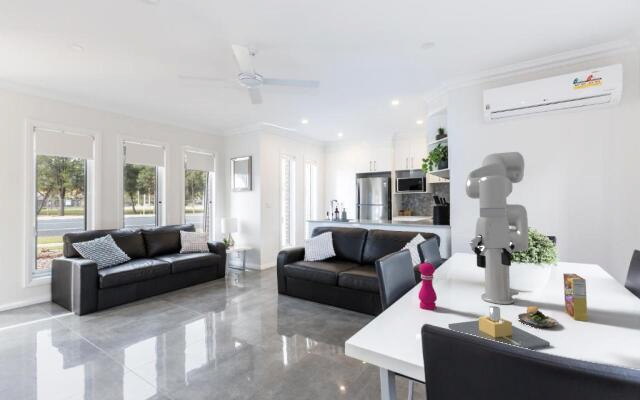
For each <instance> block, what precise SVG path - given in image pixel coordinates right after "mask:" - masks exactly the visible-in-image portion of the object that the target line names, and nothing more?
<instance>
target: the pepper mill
mask: <svg viewBox="0 0 640 400" xmlns="http://www.w3.org/2000/svg"><path fill="white" fill-rule="evenodd" d="M435 271H436V269H435V266H434V265H433V263H430V260H429V259H428V258H426V259H425V260H424V263H422V264H420V265H419V272H420V273H421V274H420V279H421V280H422V282H421V283H422V284H421V286H420V289H419V291H418V296H417V297H418V299H419V308H421V309H422V310H425V311H426V310H427V311H433V310H435V309H436V306H437V305H436V303H435V302H436V301H437V293H436V291H435V288H434V287H433V280H434V273H435Z"/></svg>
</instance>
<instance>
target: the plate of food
mask: <svg viewBox="0 0 640 400" xmlns="http://www.w3.org/2000/svg"><path fill="white" fill-rule="evenodd" d="M527 303H528V305H529V306H528V307H527V308H526V312H524V313H520V314H518V315H517V317H518V319H520V320H518V319H517V321H518V322H519V323H520V322H521V323H520V324H522V323H523V324H522V325H524V324H526V325H529V326H531V327H530V328H533V327H534V328H533V329H537V328H539V329H538V330H542V328H543V327H546V328H550V327H551V328H552V327H554V326H556V325H558V324H559V321H557V320H556V319H554V318H553V317H550V316H548V315H545V314H544V313H543V312H542V311H540V310H539V306H536V305H530V303H529V301H528V302H527ZM526 325H525V326H526ZM529 326H528V327H529Z"/></svg>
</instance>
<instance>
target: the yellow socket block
mask: <svg viewBox="0 0 640 400" xmlns="http://www.w3.org/2000/svg"><path fill="white" fill-rule="evenodd" d="M478 320H479V330H481V331H483V332H485V333H487V334H489V335H491V336H493V337H503V336H510V335H512V326H513V322H512V321H509V320H507V319H505V318H502V317H500V320H499V322H496V323H494V322H492V321H490V315H487V316H479V317H478Z"/></svg>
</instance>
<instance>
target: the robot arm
mask: <svg viewBox="0 0 640 400" xmlns="http://www.w3.org/2000/svg"><path fill="white" fill-rule="evenodd" d="M524 173H525V159H524V157H523V155H522V153H520V152H518V151H509V152H508V151H506V152H497V153H496V152H494V153H490V154H488V155H486V156H485V157H484V158H483V160H482V164H481V167H478V168H476V169H474V170H472V171H471V172H469V173H468V175H467V177H466V180H465V181H466V182H465V187H464V189H465V194H466V196H467V197H468V198H470V199H476V200H477V199H478V201H479V217H478V218H477V221H476V225H475V235H474V238H472V240H469V245H470V248H471V250H472V251H473V252H474V254H475V255H476V266H477V268H482V269H484V293H482V294H481V299H482V300H483V301H485V302H489V303H493V304H498V305H510V304H511V305H512V304H514V303H515V298H513V296H518V295H519V291H518V290H512V289H511V287H510V286H511V285H510V284H511V282H510V278H511V277H510V267H511V266H512V254H513V252H526V251H527V250H528V248H529V243H530V241H529V225H528V224H529V223H528V222H529V221H528V212H527V208H526V207H525V206H524V205H522V204H518V203H517V204H508V203H507V198H508V197H509V196H510V195H511V194H512V192H513V184H518V183H520V182H522V181H523V179H524ZM510 227H514V228H510Z"/></svg>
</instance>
